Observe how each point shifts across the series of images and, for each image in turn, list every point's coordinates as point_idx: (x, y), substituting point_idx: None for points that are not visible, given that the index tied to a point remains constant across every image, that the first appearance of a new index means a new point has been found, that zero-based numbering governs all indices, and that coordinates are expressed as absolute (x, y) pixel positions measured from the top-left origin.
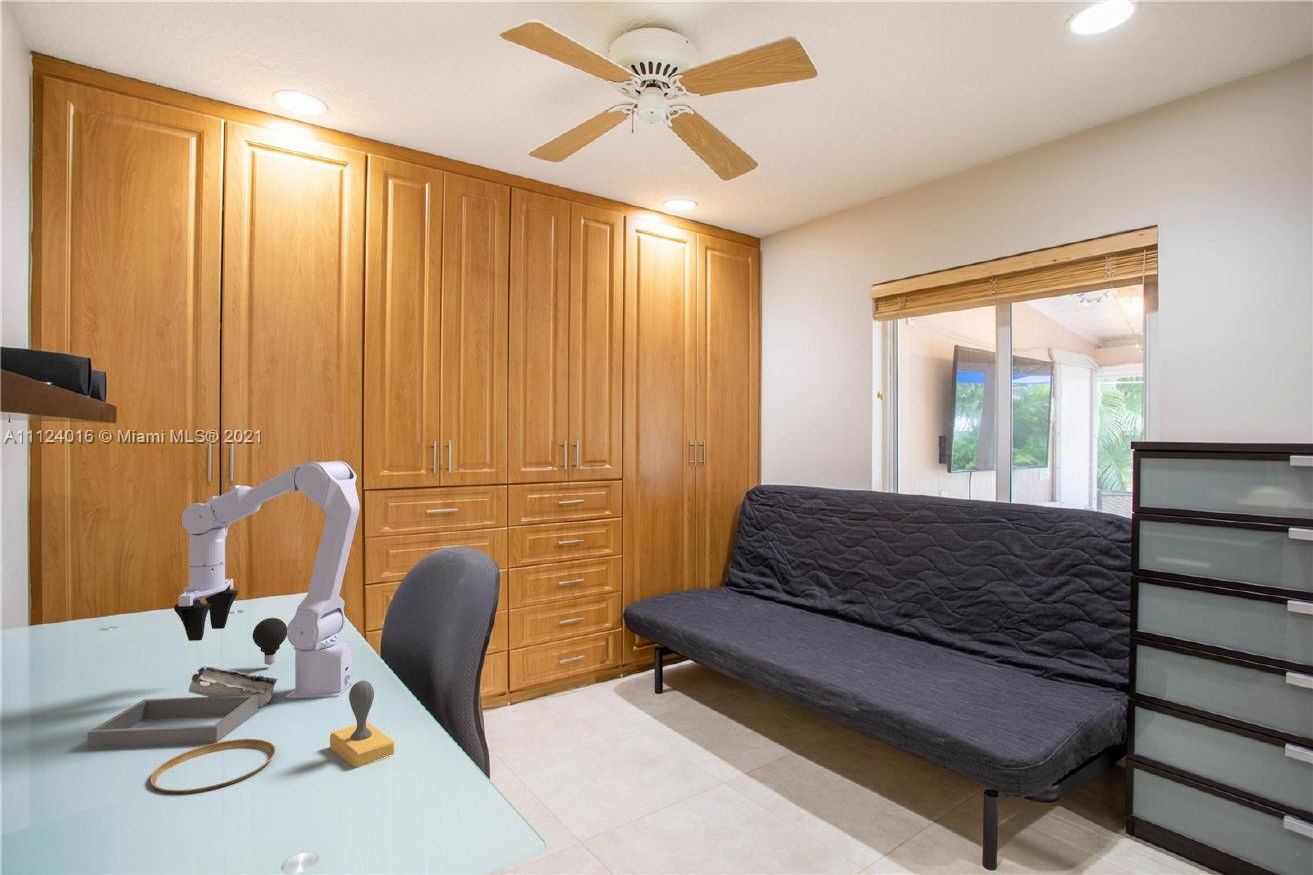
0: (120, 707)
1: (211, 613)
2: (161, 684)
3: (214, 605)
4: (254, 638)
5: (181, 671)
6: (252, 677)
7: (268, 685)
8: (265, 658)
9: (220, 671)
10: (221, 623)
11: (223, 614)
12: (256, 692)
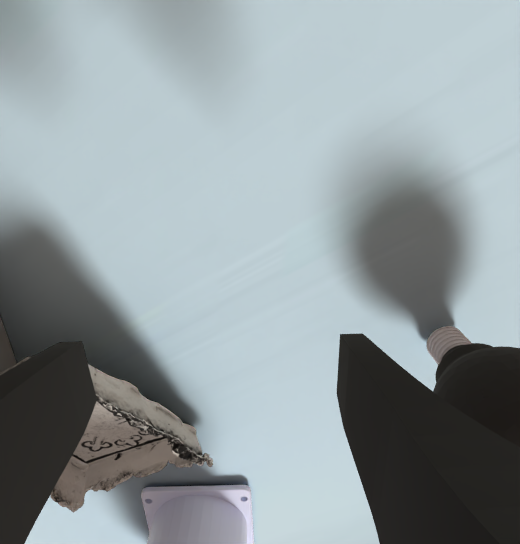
0: (37, 39)
1: (382, 410)
2: (283, 33)
3: (414, 512)
4: (457, 383)
5: (450, 11)
6: (168, 441)
7: (195, 443)
8: (440, 345)
9: (105, 403)
10: (343, 413)
11: (367, 482)
12: (57, 495)
